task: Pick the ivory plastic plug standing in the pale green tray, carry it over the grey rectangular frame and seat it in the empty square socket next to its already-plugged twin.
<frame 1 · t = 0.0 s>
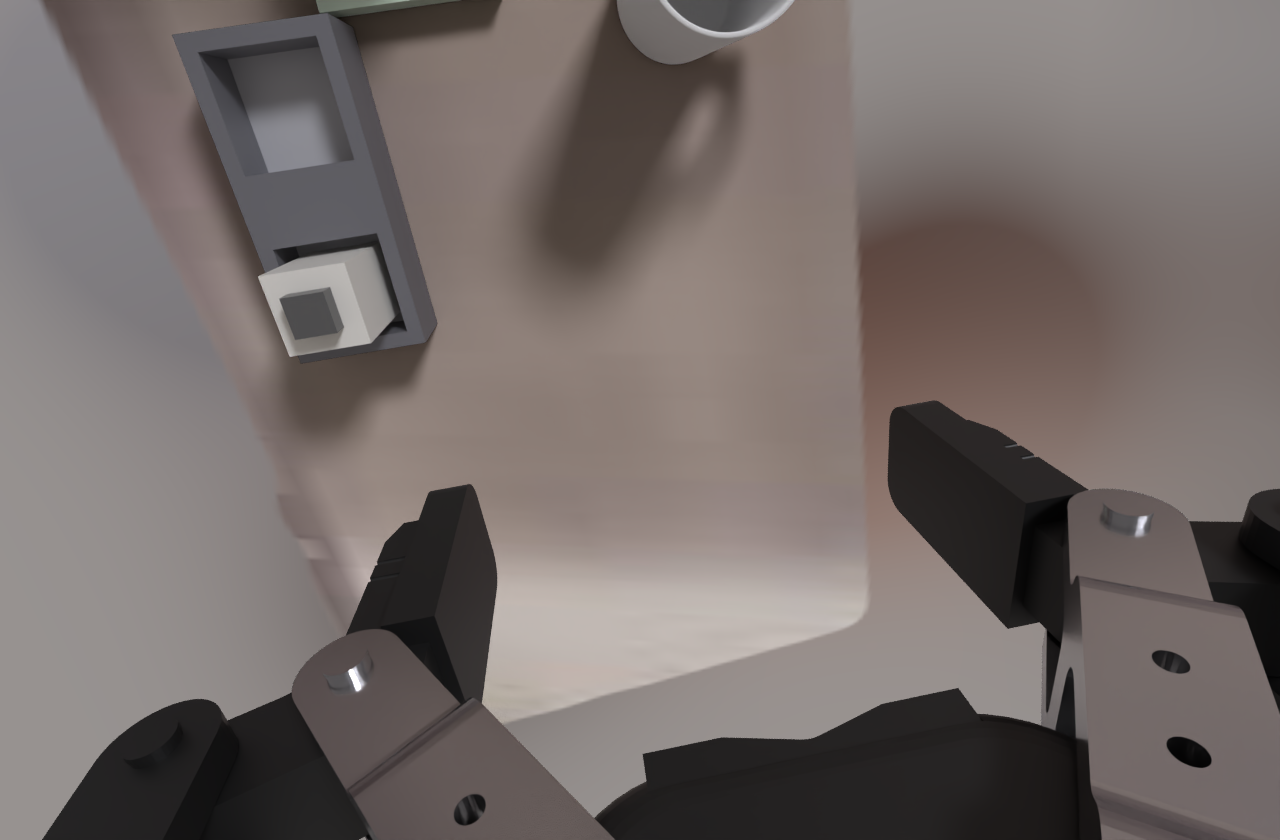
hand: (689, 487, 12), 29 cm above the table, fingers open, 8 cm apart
twin plug: (357, 281, 36), point 1 cm above the table, touching grey rectangular frame
mug: (702, 0, 34), on the table
grey rectangular frame: (337, 199, 36), on the table
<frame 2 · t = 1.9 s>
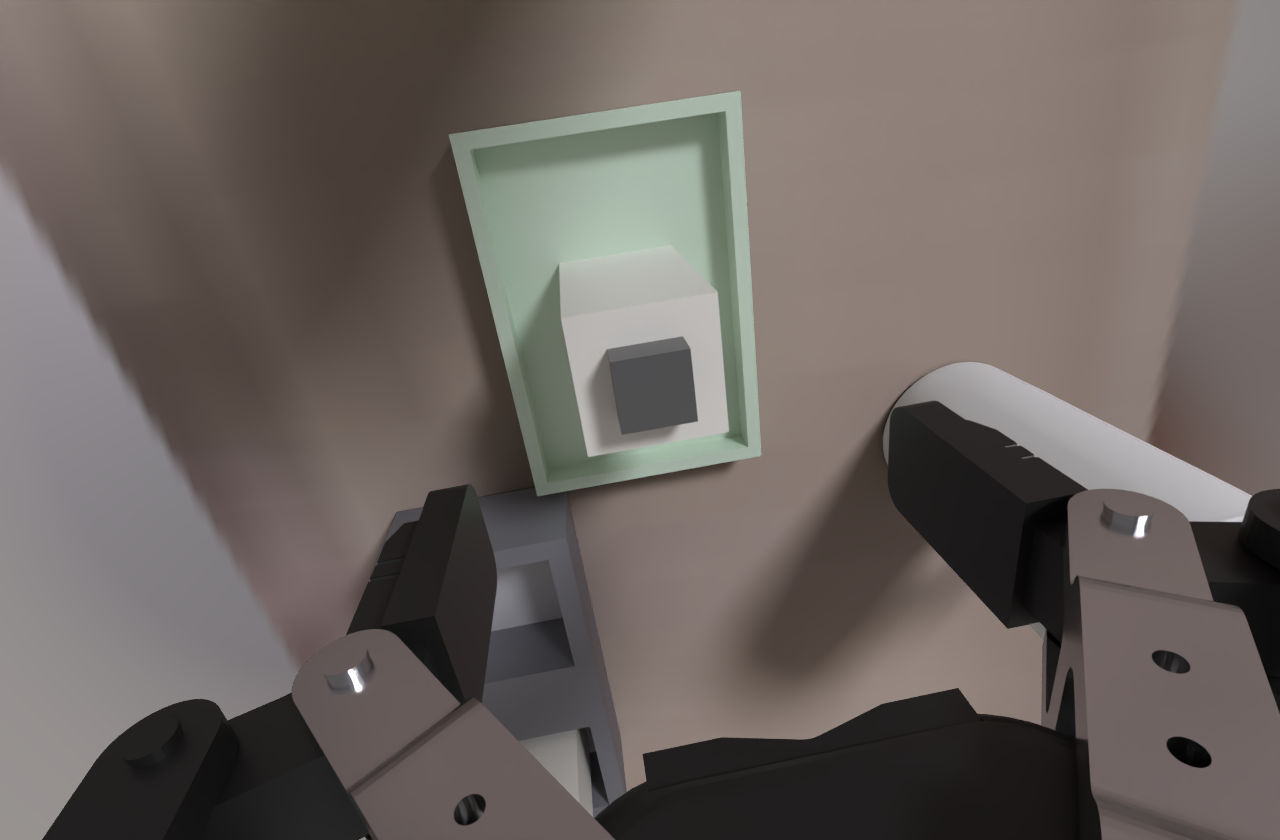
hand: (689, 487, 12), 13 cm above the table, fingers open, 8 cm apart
twin plug: (541, 723, 30), point 1 cm above the table, touching grey rectangular frame
tray: (622, 305, 23), on the table
mug: (980, 423, 28), on the table
plug: (623, 309, 23), resting on tray
grey rectangular frame: (522, 639, 29), on the table
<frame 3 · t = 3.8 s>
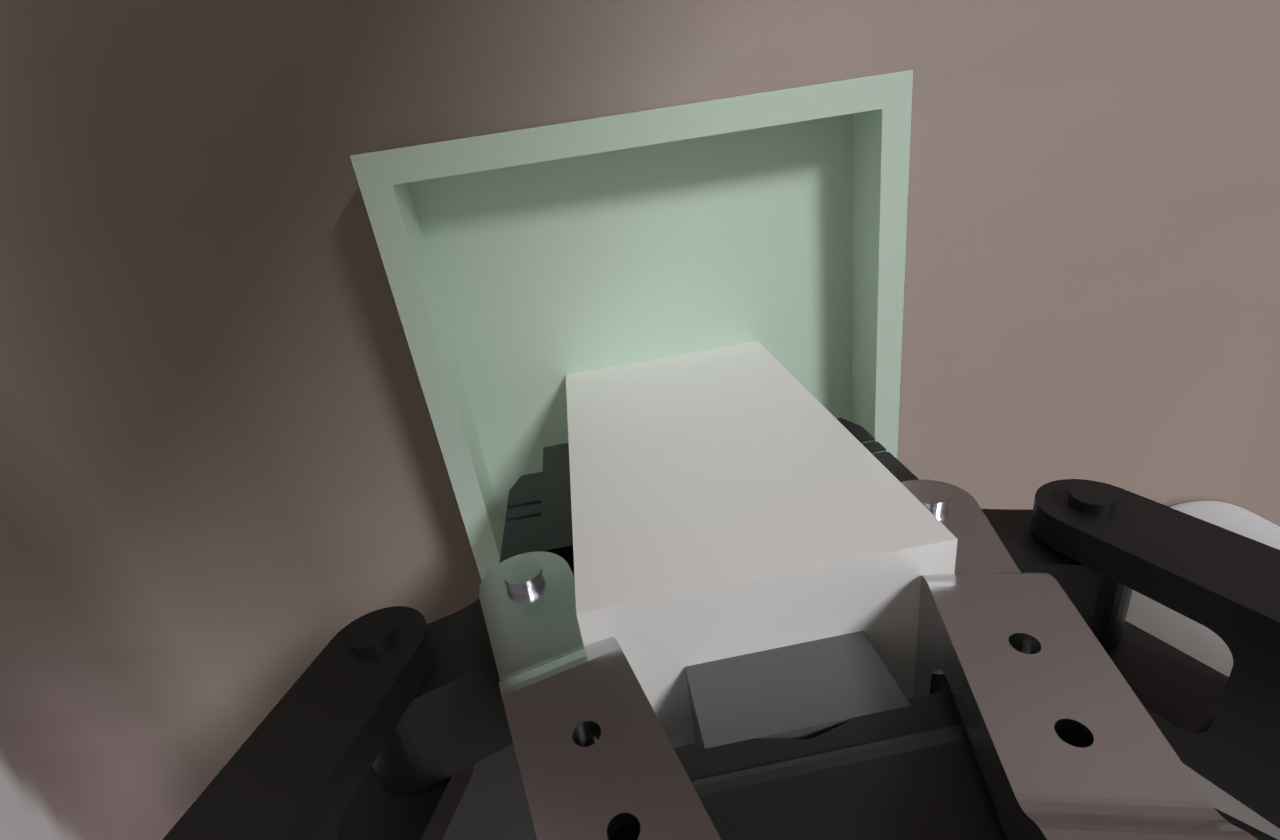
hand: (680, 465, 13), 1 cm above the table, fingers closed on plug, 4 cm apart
tray: (670, 434, 14), on the table
mug: (1200, 582, 18), on the table
plug: (674, 444, 14), point 1 cm above the table, touching gripper, tray
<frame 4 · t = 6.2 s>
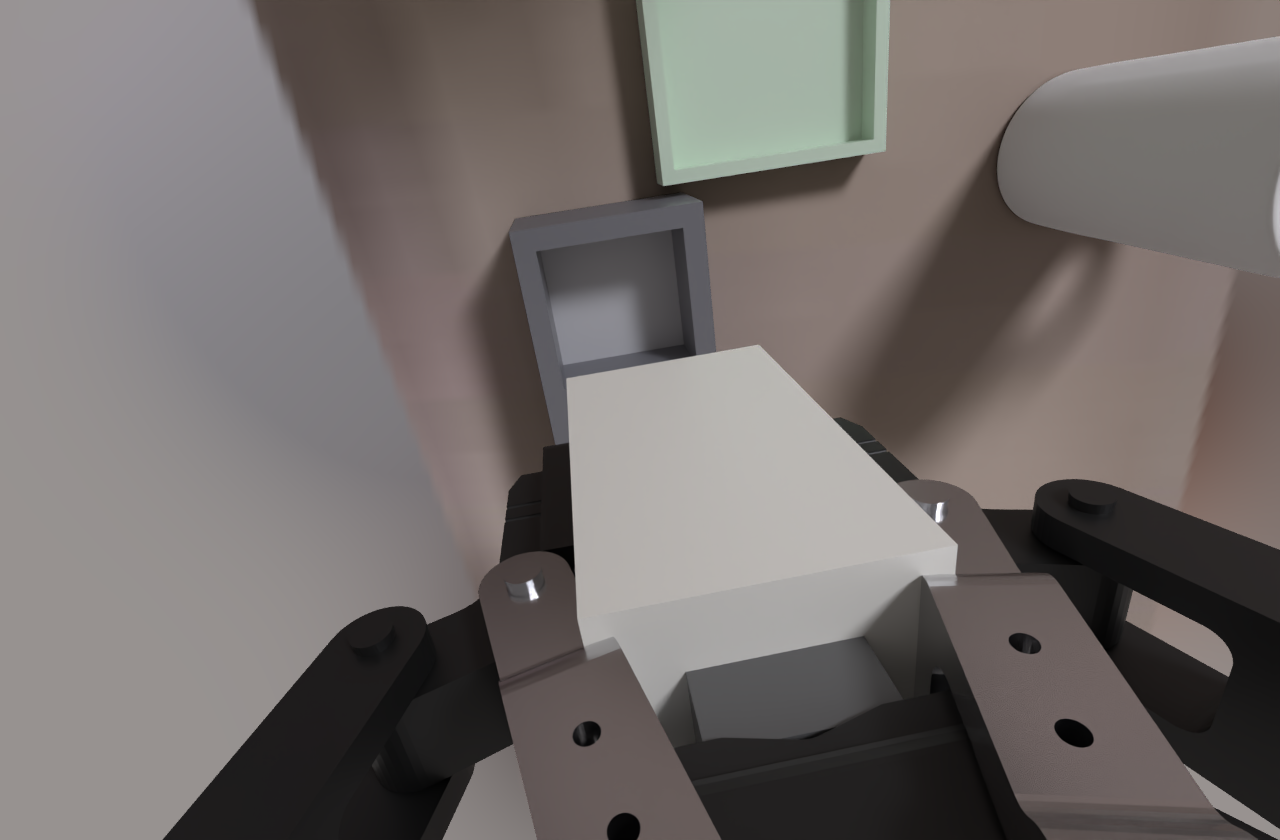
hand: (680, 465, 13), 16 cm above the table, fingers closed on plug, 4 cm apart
mug: (1093, 150, 28), on the table
plug: (674, 447, 14), point 15 cm above the table, touching gripper
grey rectangular frame: (627, 383, 29), on the table
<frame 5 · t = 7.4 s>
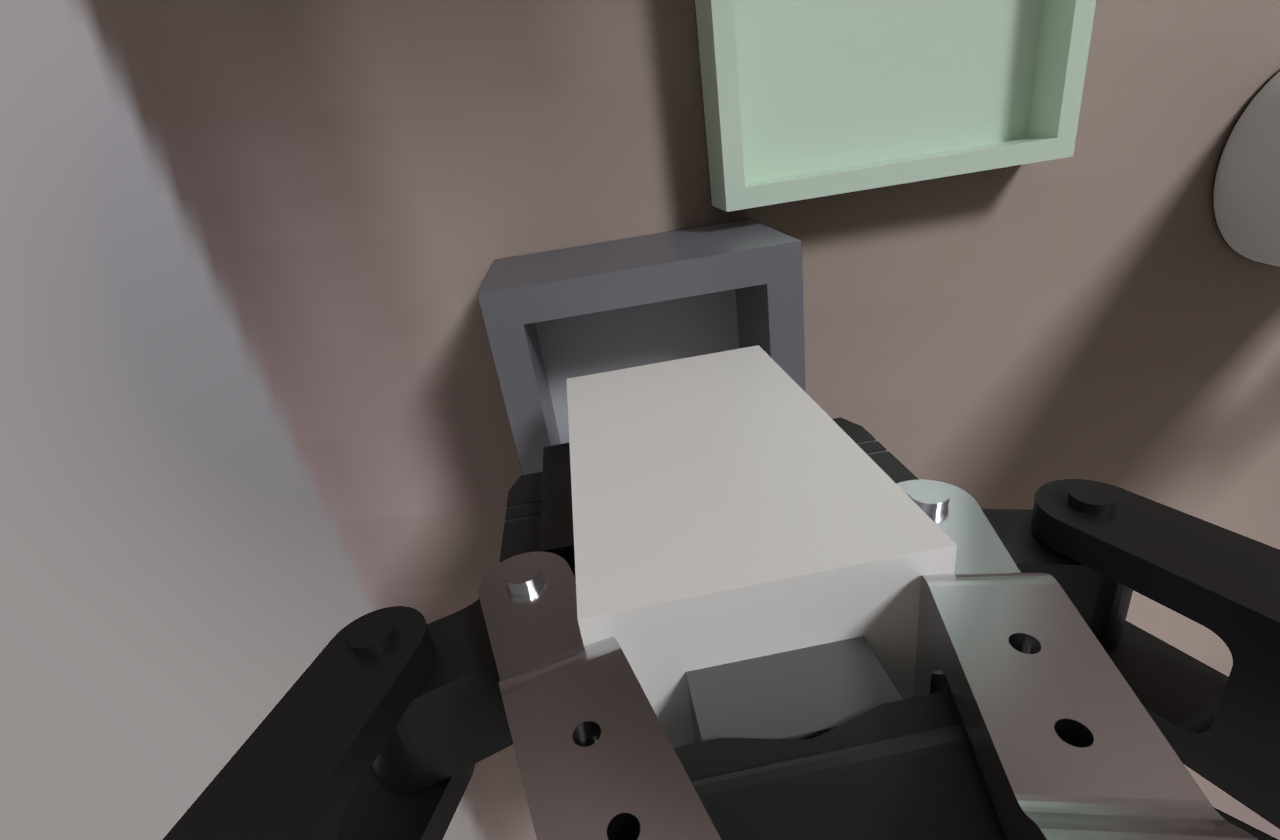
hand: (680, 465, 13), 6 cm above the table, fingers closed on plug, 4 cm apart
plug: (674, 447, 14), point 5 cm above the table, touching gripper
grey rectangular frame: (659, 490, 20), on the table
when the fingers open (4 cm above the table, at t = 8.5 s): plug drops 2 cm, resting on grey rectangular frame.
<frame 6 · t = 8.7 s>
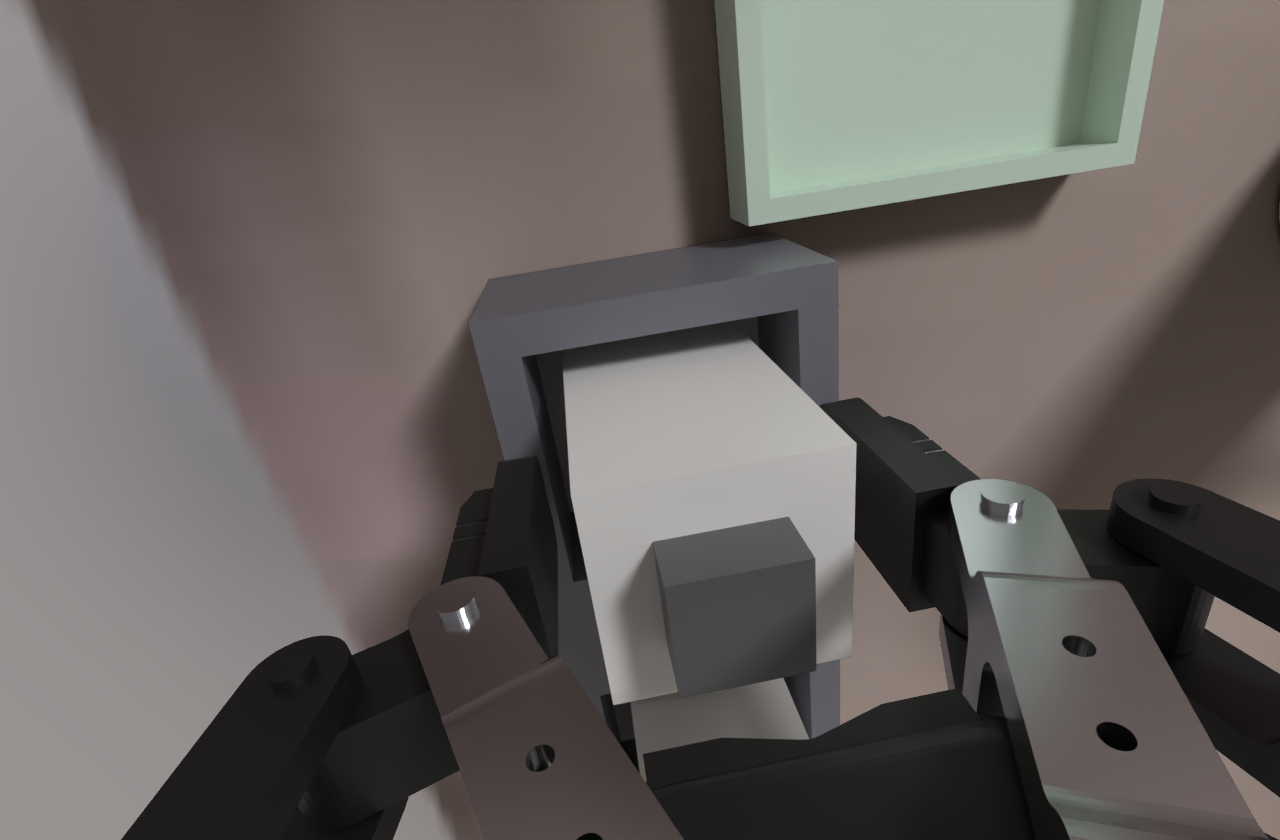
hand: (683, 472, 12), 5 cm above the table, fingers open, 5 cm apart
twin plug: (693, 665, 19), point 1 cm above the table, touching grey rectangular frame
plug: (654, 405, 16), point 1 cm above the table, touching grey rectangular frame
grey rectangular frame: (670, 526, 19), on the table
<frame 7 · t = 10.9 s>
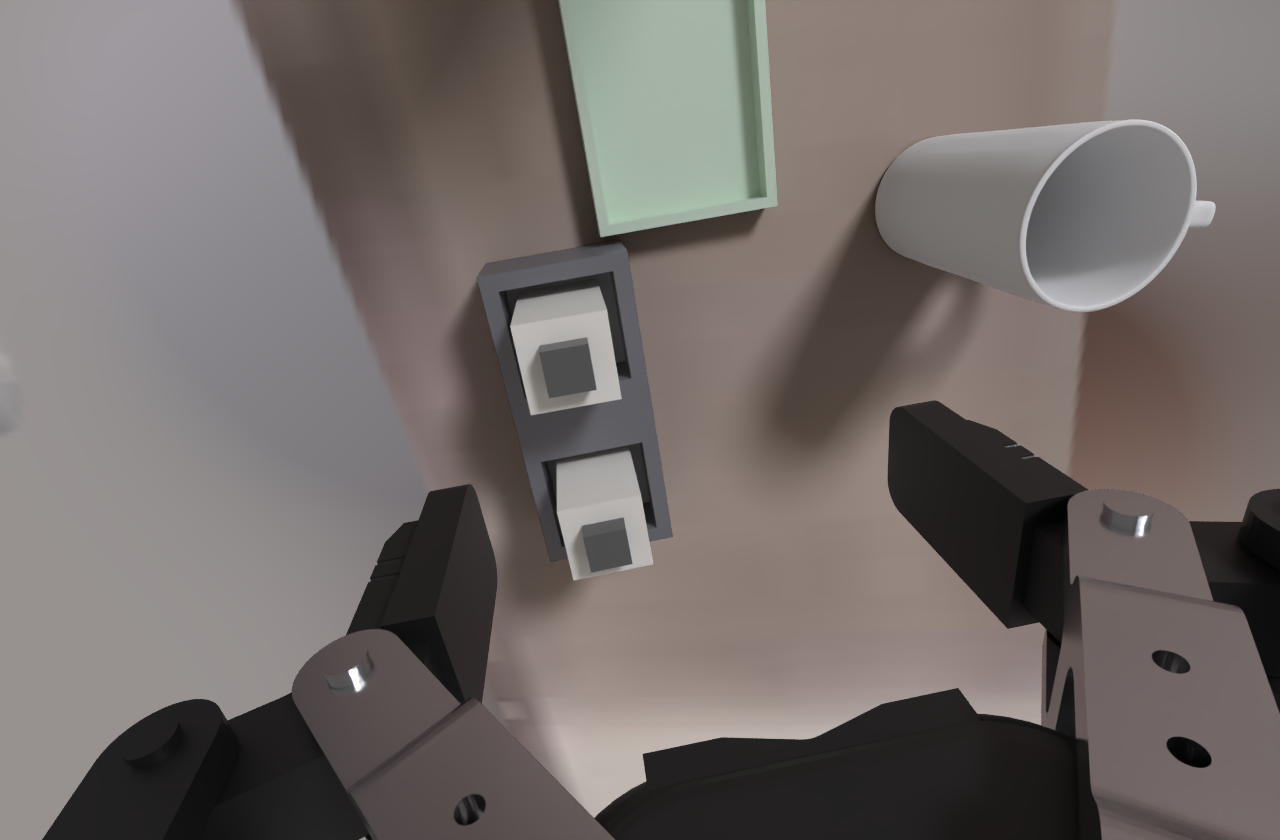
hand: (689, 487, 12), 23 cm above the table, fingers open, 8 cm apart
twin plug: (597, 471, 36), point 1 cm above the table, touching grey rectangular frame
tray: (666, 78, 30), on the table
mug: (954, 199, 34), on the table
plug: (565, 323, 33), point 1 cm above the table, touching grey rectangular frame
grey rectangular frame: (582, 393, 36), on the table
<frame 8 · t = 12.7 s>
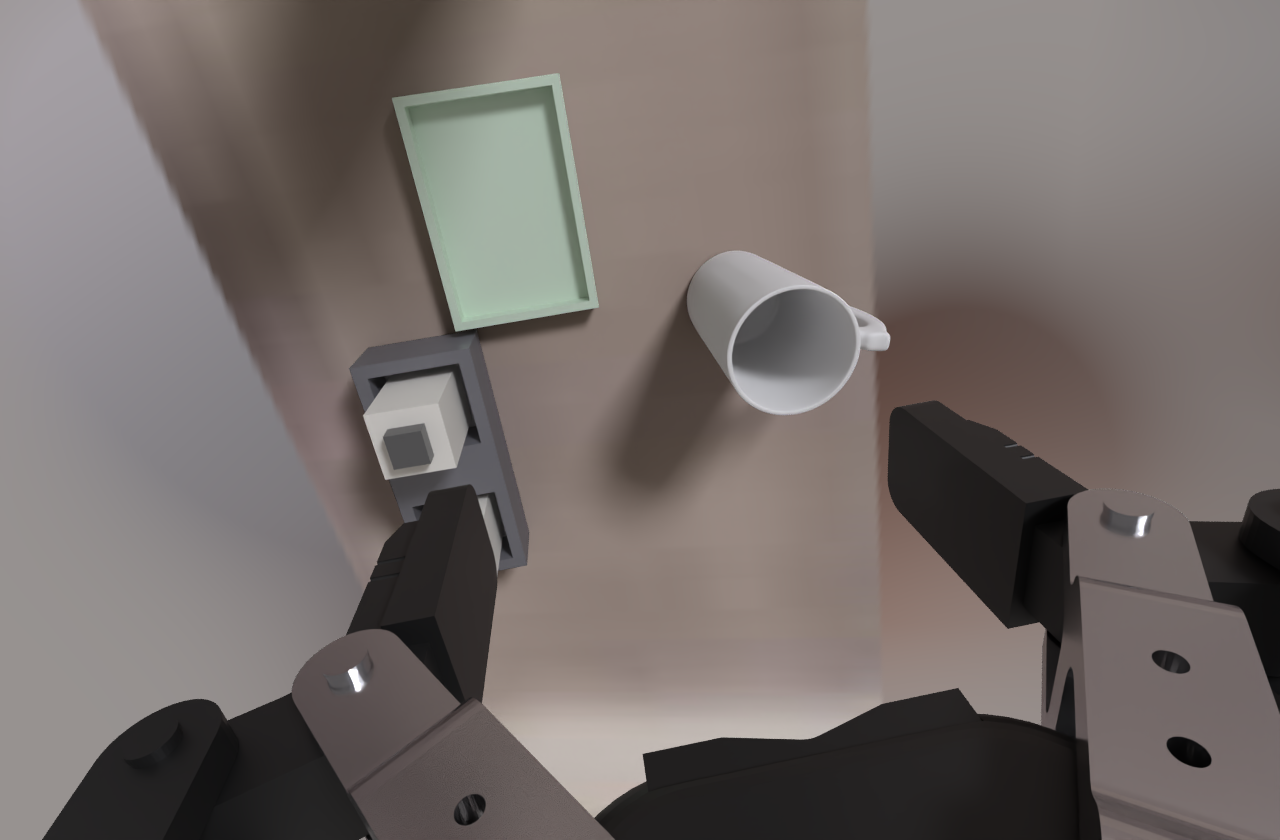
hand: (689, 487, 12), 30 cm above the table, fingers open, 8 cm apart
twin plug: (469, 510, 44), point 1 cm above the table, touching grey rectangular frame
tray: (505, 208, 38), on the table
mug: (754, 296, 42), on the table
plug: (433, 395, 41), point 1 cm above the table, touching grey rectangular frame
grey rectangular frame: (455, 447, 44), on the table
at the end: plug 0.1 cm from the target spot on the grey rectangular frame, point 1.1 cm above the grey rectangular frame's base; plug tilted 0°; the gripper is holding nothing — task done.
